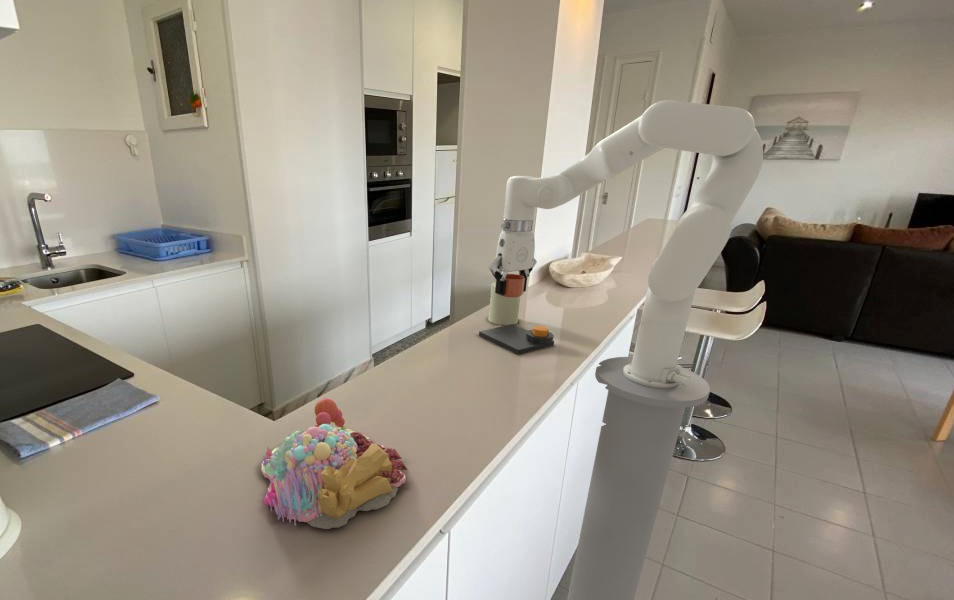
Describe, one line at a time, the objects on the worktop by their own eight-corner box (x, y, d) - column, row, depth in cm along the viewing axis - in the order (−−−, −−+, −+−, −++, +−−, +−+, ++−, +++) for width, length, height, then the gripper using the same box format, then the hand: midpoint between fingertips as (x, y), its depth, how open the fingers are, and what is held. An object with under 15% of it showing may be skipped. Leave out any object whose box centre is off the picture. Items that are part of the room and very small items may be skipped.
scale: (557, 345, 131) (558, 335, 130) (519, 355, 125) (520, 344, 124) (515, 327, 144) (516, 318, 143) (478, 335, 138) (479, 326, 137)
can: (524, 321, 150) (528, 284, 145) (504, 327, 145) (507, 288, 140) (502, 313, 157) (505, 278, 152) (482, 319, 152) (484, 282, 147)
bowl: (528, 295, 130) (530, 278, 128) (509, 299, 127) (511, 281, 125) (510, 289, 136) (512, 272, 134) (492, 293, 132) (493, 275, 131)
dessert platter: (432, 472, 79) (434, 424, 76) (329, 558, 63) (326, 501, 59) (328, 421, 94) (325, 379, 91) (222, 480, 78) (215, 431, 74)
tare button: (550, 336, 131) (551, 329, 130) (540, 338, 129) (541, 331, 128) (539, 331, 134) (540, 324, 133) (529, 334, 132) (530, 327, 131)
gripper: (501, 230, 117) (495, 300, 124) (552, 225, 125) (543, 291, 132) (482, 226, 123) (476, 293, 130) (531, 222, 131) (523, 285, 138)
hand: (510, 291), depth 131 cm, fingers closed on bowl, 6 cm apart
